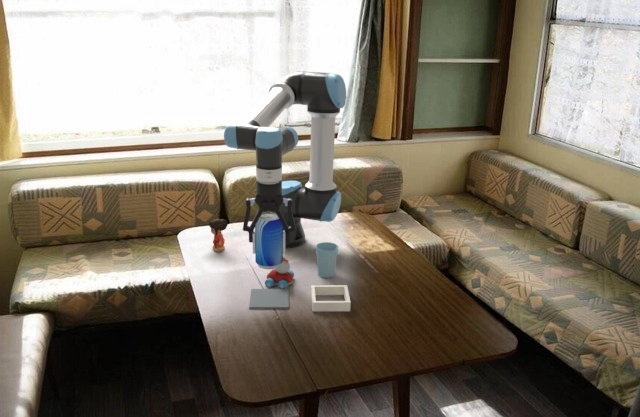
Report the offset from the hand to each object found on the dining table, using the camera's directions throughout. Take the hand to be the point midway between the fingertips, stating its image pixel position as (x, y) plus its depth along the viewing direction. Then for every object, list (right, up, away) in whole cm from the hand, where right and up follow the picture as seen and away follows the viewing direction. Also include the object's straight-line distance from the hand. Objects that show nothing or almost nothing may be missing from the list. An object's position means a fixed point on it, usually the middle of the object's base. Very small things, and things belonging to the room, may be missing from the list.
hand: (269, 251), depth 189 cm
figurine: (-22, -2, +42) cm, 48 cm away
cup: (+18, -10, +24) cm, 31 cm away
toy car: (+2, -12, +17) cm, 21 cm away
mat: (0, -15, +6) cm, 16 cm away
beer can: (0, -4, +1) cm, 5 cm away
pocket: (+19, -16, +5) cm, 25 cm away
